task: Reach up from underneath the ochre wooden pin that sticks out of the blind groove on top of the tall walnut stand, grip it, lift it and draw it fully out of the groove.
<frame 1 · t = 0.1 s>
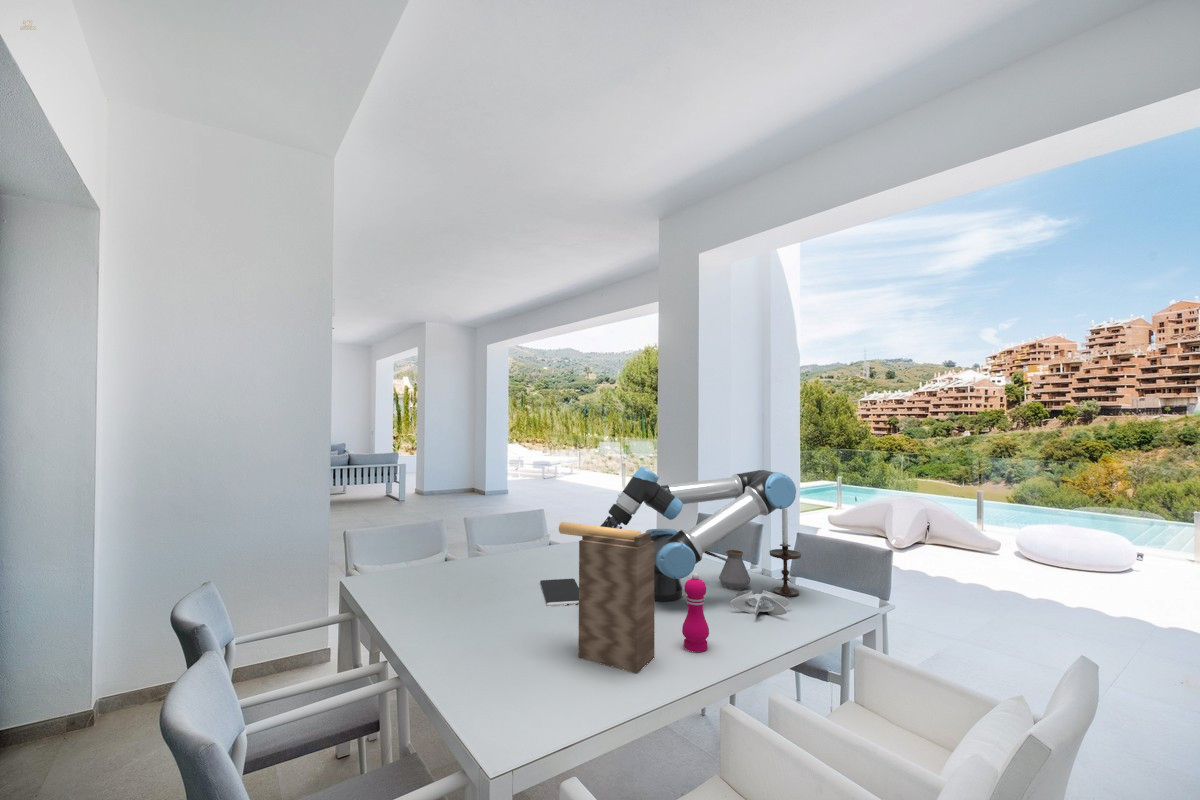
hand: (586, 563, 171), 15 cm above the table, tool tilted 35°, fingers open, 13 cm apart
stand: (616, 657, 137), on the table
candlestick: (785, 593, 191), on the table
sculpture: (760, 613, 171), on the table
pepper mill: (695, 648, 144), on the table
coffee pot: (722, 587, 197), on the table
pin: (598, 538, 141), point 30 cm above the table, touching stand
smartphone: (561, 595, 190), on the table
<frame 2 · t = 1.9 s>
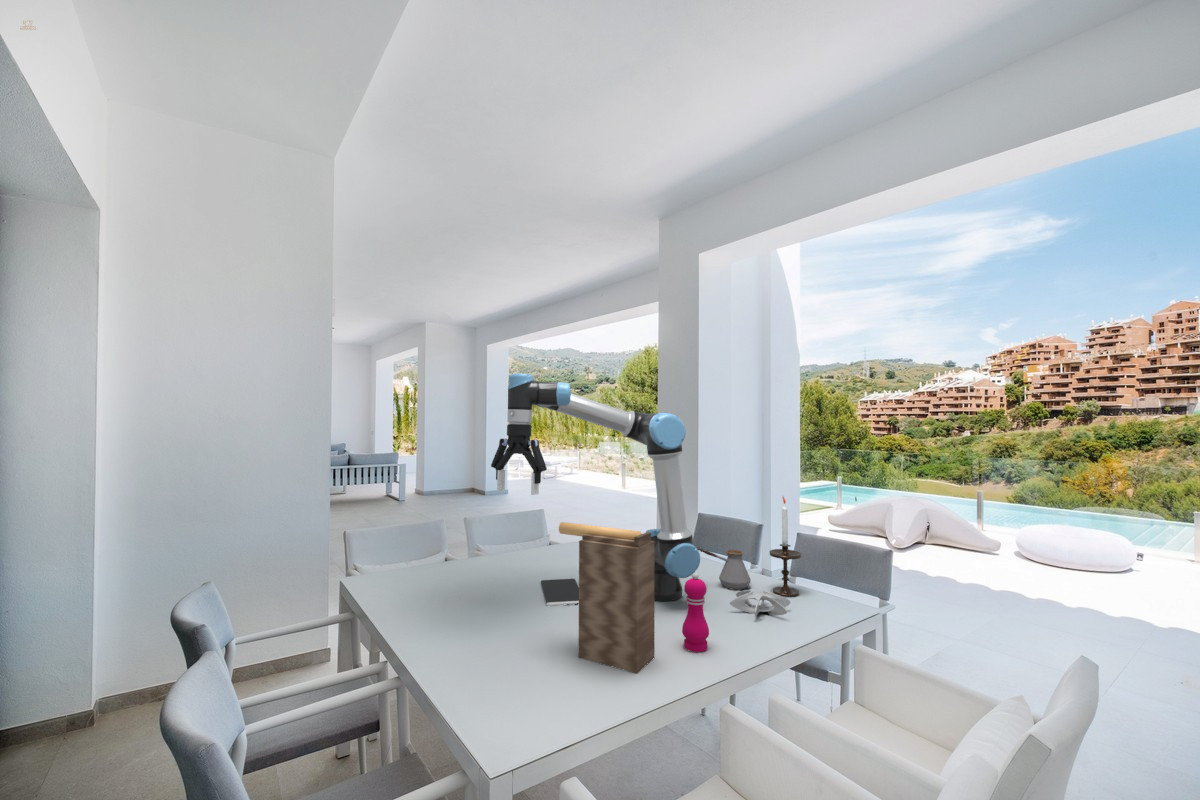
hand: (517, 492, 163), 39 cm above the table, tool pointing down, fingers open, 13 cm apart
nothing on the table moved.
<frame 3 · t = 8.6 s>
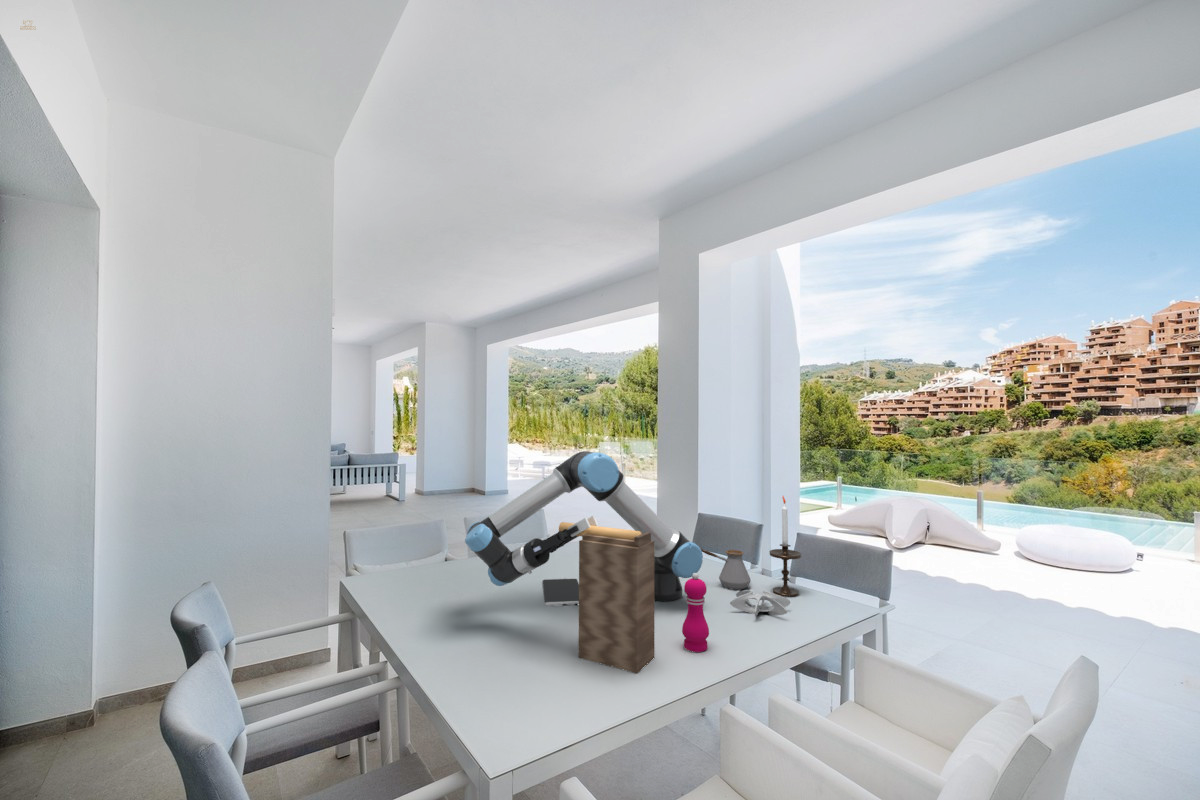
hand: (591, 521, 143), 34 cm above the table, tool pointing upward, fingers closed on pin, 3 cm apart
pin: (598, 538, 141), point 30 cm above the table, touching gripper, stand
everything else where it was.
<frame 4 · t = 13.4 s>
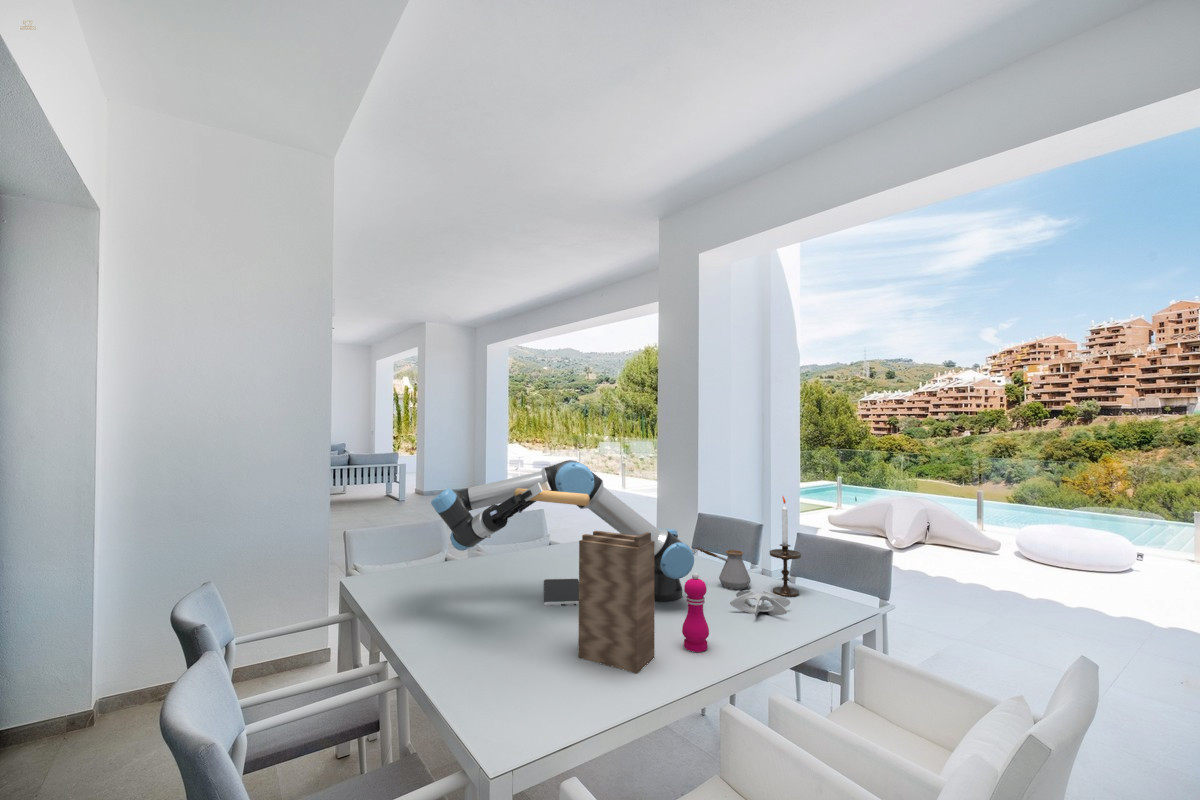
hand: (544, 486, 151), 43 cm above the table, tool pointing upward, fingers closed on pin, 3 cm apart
pin: (550, 502, 150), point 38 cm above the table, touching gripper
everything else where it was.
at the end: the gripper is holding pin; pin moved 18.0 cm from its start; pin touching gripper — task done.
